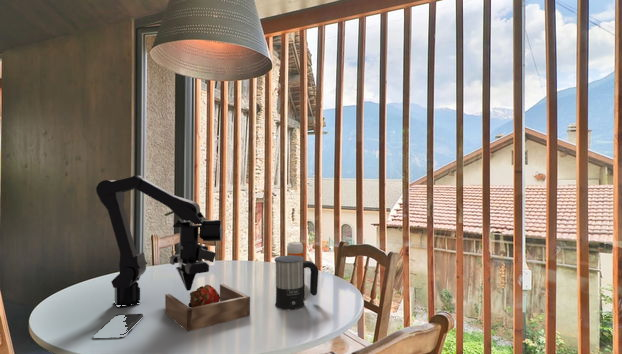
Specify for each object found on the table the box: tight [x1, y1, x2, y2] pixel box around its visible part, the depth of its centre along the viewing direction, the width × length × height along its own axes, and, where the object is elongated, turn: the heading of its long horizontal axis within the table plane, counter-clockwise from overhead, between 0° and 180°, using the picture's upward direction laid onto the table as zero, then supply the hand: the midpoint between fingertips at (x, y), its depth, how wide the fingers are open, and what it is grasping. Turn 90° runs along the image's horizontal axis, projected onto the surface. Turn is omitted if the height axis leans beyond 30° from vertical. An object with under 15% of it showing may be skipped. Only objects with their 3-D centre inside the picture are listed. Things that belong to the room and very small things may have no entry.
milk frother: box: [274, 255, 319, 311], centre depth 125 cm, size 14×16×15 cm
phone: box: [115, 313, 144, 335], centre depth 103 cm, size 8×1×15 cm
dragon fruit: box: [187, 284, 220, 308], centre depth 115 cm, size 8×8×12 cm
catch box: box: [164, 283, 251, 332], centre depth 113 cm, size 18×17×6 cm
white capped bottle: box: [286, 241, 304, 258], centre depth 147 cm, size 6×6×15 cm
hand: (188, 290), depth 123 cm, fingers closed
